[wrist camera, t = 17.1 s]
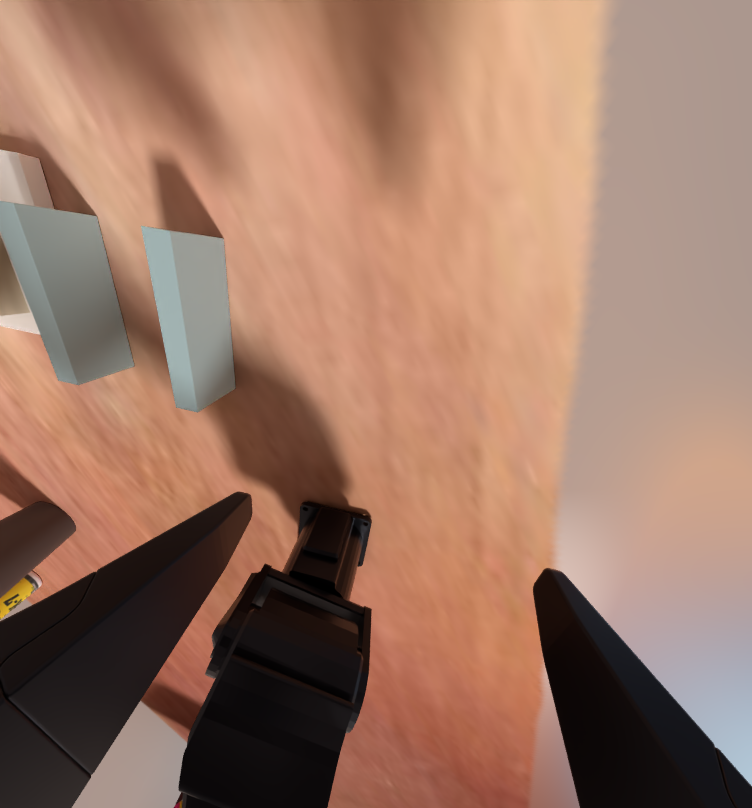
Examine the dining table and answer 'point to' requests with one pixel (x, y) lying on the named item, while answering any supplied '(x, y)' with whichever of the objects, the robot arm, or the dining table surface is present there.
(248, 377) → the dining table surface
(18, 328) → the ceramic tile
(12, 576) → the coffee cup
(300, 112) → the dining table surface
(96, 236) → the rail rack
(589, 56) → the dining table surface
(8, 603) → the supplement bottle
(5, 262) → the maple block
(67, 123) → the dining table surface
